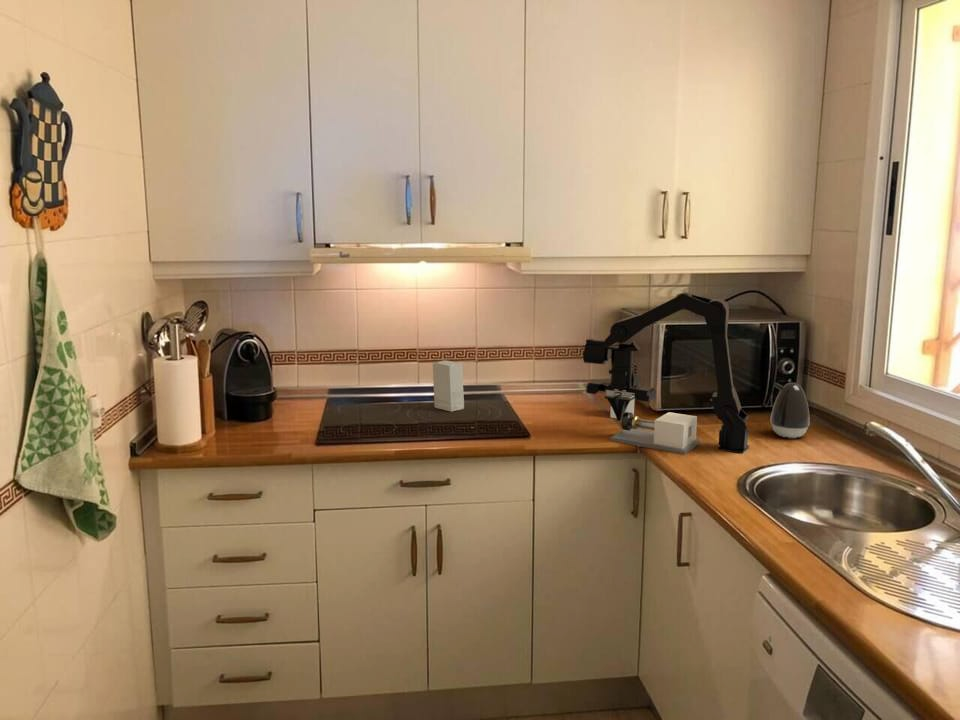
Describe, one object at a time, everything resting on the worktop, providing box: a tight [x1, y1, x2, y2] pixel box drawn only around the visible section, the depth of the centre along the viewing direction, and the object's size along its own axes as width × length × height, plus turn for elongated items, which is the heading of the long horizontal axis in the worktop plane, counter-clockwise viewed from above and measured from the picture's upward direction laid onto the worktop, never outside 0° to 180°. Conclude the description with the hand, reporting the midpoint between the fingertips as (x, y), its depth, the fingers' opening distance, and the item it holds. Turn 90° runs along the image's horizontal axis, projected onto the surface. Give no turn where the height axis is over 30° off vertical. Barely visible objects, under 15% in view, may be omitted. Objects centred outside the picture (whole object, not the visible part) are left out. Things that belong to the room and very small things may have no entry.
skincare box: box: [432, 360, 465, 412], centre depth 251 cm, size 8×6×15 cm
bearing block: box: [609, 411, 701, 455], centre depth 217 cm, size 21×12×8 cm, turn 56°
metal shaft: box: [620, 412, 655, 431], centre depth 218 cm, size 16×5×5 cm, turn 56°
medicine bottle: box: [609, 387, 636, 419], centre depth 243 cm, size 7×7×12 cm
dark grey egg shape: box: [770, 382, 811, 439], centre depth 223 cm, size 10×10×15 cm
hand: (619, 420), depth 223 cm, fingers closed
